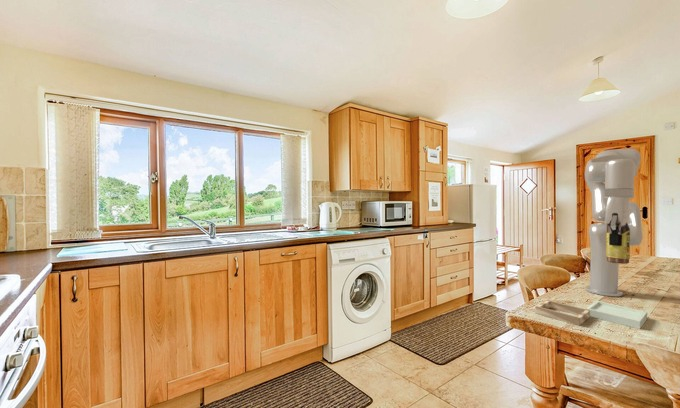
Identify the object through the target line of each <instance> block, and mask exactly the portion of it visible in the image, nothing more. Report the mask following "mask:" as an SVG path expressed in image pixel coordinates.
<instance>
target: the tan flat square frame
mask: <svg viewBox="0 0 680 408" xmlns="http://www.w3.org/2000/svg"><path fill="white" fill-rule="evenodd" d="M553 309H554V310H553ZM557 310H558V311H557ZM534 312H535V313H534V314H536V315H540V316H542V317H543V316H544V317H547V318H550V319H554V320H558V321H561V322H565V323H569V324H571V325H576V326H579V327H580V326H581V325H583V323H585V322H586V321H587V320H588V319H590V310H587V309H585V308H583V307H578V306H574V305H571V304H565V303H563V302H557V301H555V300H554V301H553V300H549V299H547V300H545V301H544V302H541V303H540V304H538V305H536V306H535V310H534ZM564 312H565V313H564ZM568 313H569V314H568ZM575 315H576V316H575Z"/></svg>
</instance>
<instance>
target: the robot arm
mask: <svg viewBox="0 0 680 408" xmlns="http://www.w3.org/2000/svg"><path fill="white" fill-rule="evenodd" d="M641 159H642V157H641V153H640V151H639V150H637V149H636V148H621V149H620V148H619V149H618V148H617V149H606V150H602V151H600V152H599V153H597V154H596V156H595V157H594V158H591V159H589V160H588V161H587V162H586V165H585V168H584V169H585V170H584V179H585V183H586V186H587V188H588V190H589V192H590V194H591V195H590V196H591V214H592V215H591V216H592V218H593V220H595V221H598V222H595V223H591V224H590V225H589V227H588V237H589V244H590V270H589V285H586V286H585V290H586V291H587V292H589V293H591V294H592V293H593V294H596V295H600V296H604V297H605V296H606V297H617V298H618V297H622V296H623V295H624V292H623V291H621V290H619V269H620V268H619V266H620V265H619V264H620V263H612V262H608V261H607V257H606V233H607V226H609V225H608V224H611V225H610V234H609V245H615V246H622V234H621V228H622V226H625V225H626V223H627V224H628V226H629V228H630V247H636V246H639V245H641V244H642V241H643V227H642V217H641V215H642V214H641V209H640V206H639V205H638V204H637V203H636V202H633V201H630V199H634V198H635V197H634V196H635V194H634V193H635V177H636V176H637V175H638V170H639V168H640V165H641ZM610 221H611V223H610ZM616 224H620V225H616ZM618 228H619V230H618Z"/></svg>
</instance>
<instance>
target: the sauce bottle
mask: <svg viewBox="0 0 680 408" xmlns="http://www.w3.org/2000/svg"><path fill="white" fill-rule="evenodd" d="M610 223H611V221H610ZM608 225H609V226H607V233H606V257H607V261H608V262H612V263H619V264H622V265H624V264H625V265H626V264H629V263H630V259H631V246H630V228H629V226H628V224H627V223H626V225H625V226H622V228H621V234H622V246H615V245H609V234H610V225H611V224H608ZM616 225H620V224H616ZM618 230H619V228H618Z"/></svg>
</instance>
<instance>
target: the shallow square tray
mask: <svg viewBox="0 0 680 408" xmlns="http://www.w3.org/2000/svg"><path fill="white" fill-rule="evenodd" d="M584 309H587V310H590V317H591V318H595V319H600V320H603V321H607V322H610V323H614V324H618V325H622V326H626V327H631V328H634V329H638V330H640V329H641V328H642V327H643V325H644V324H645V322H646V321H647V319H648V311H646V310H641V309H637V308H633V307H632V308H631V307H627V306H623V305H618V304H615V303H614V304H613V303H610V302H604V301H601V300H595V301H594V302H592V303H590V305H588V306H587V307H585V308H584ZM590 317H589V318H590Z"/></svg>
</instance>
